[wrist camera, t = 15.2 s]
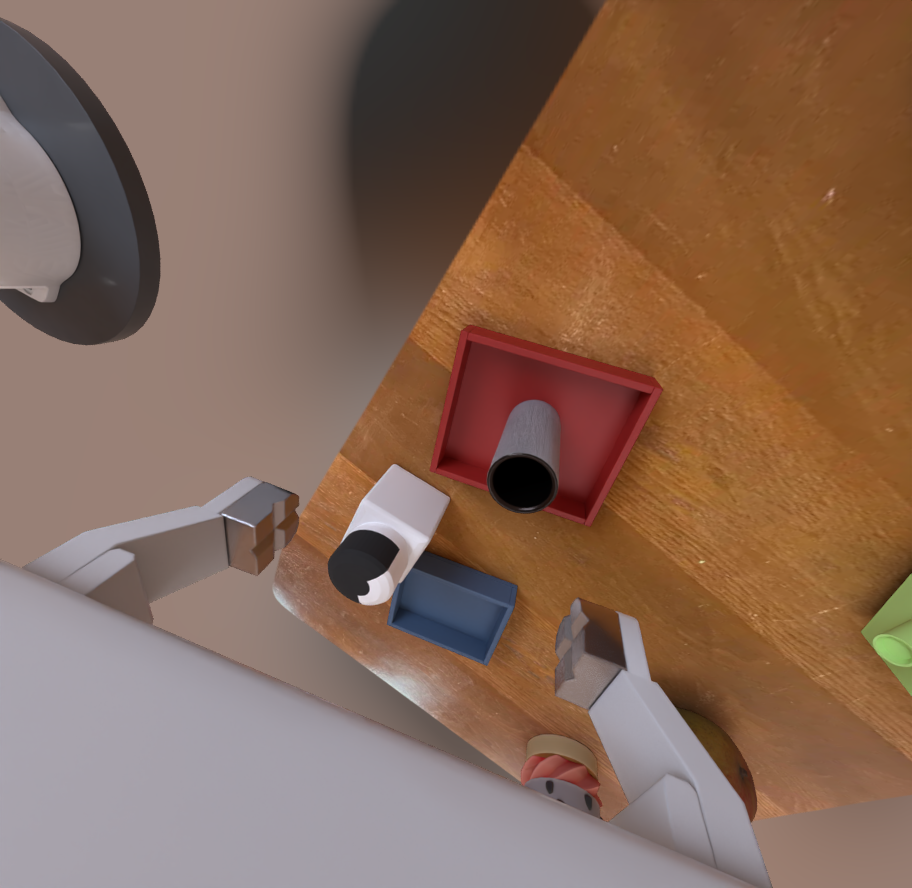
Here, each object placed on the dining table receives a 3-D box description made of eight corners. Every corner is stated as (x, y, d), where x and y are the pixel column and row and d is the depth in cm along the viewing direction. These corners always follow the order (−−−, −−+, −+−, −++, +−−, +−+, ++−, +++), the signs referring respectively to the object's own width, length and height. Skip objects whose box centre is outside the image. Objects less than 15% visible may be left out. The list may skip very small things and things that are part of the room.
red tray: (438, 456, 37) (429, 471, 34) (470, 324, 31) (461, 330, 28) (588, 507, 35) (590, 527, 32) (654, 377, 29) (663, 389, 26)
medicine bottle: (371, 506, 42) (307, 585, 32) (394, 461, 39) (330, 534, 28) (424, 538, 42) (377, 628, 32) (452, 497, 39) (410, 583, 28)
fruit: (749, 740, 43) (795, 862, 34) (643, 752, 48) (659, 858, 40) (698, 675, 40) (734, 788, 32) (593, 696, 46) (600, 796, 38)
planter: (568, 408, 31) (569, 467, 22) (550, 453, 33) (544, 523, 24) (516, 392, 32) (497, 443, 23) (501, 437, 34) (478, 500, 25)
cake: (510, 745, 56) (492, 891, 43) (557, 724, 51) (554, 884, 38) (564, 783, 56) (563, 939, 43) (616, 766, 51) (633, 938, 38)
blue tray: (396, 605, 49) (386, 624, 46) (409, 544, 43) (399, 562, 41) (491, 643, 47) (487, 666, 44) (517, 585, 42) (514, 607, 39)
